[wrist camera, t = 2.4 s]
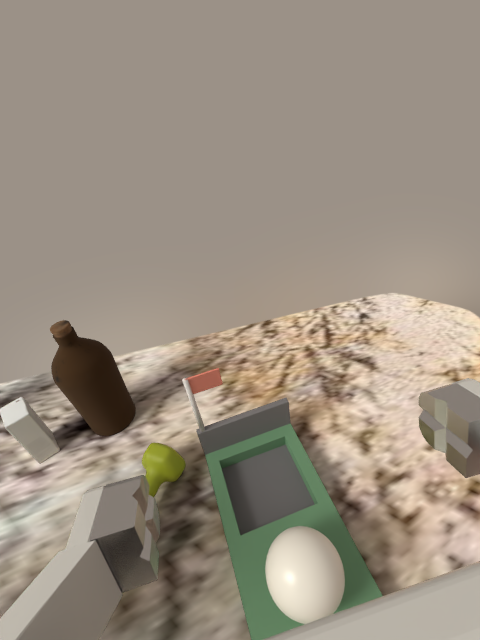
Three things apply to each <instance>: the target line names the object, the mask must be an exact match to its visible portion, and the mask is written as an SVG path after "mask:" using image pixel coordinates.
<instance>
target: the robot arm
mask: <svg viewBox="0 0 480 640" xmlns="http://www.w3.org/2000/svg"><path fill="white" fill-rule="evenodd" d="M419 406H420V407H421V408H422V409H423V411H422V413H421V415H420V417H419V427H420V430H421V432H422V435H423V437H424V438H425V440H426V441H427V442H428V444H430V445H431V446H432V447H433V448H434V449H435V450H438V451H441V452H444V453H445V454H446V460H447V461H448V462H449V463H450V464H451V465H452V466H453V467H454V468H455V469H456V470H458V471H459V472H460V473H461V474H462V475H463V476H464V477H465V478H468V477H471V476H475V475H478V474H480V383H479V382H478V381H476V380H474V379H469V378H467V379H464V380H461V381H458V382H454V383H452V384H449V385H446V386H442V387H439V388H436V389H433V390H429V391H426V392H423V393H421V394H420V396H419ZM159 536H160V520H159V512H158V508H157V504H156V501H155V499H154V497H152V496H150V495H149V483H148V481H147V479H146V476H144V475H141V476H137V477H134V478H130V479H126V480H122V481H119V482H115V483H111V484H108V485H106V486H102V487H98V488H94V489H91V490H87V491H86V492H85V493H84V495H83V497H82V500H81V503H80V506H79V509H78V512H77V515H76V518H75V521H74V524H73V527H72V530H71V533H70V536H69V539H68V542H67V545H66V548H65V550H62V551H59V552H58V553H57V554H56V555H55V556H54V558H53V559H52V560H51V561H50V562H49V563H48V564H47V566H46V567H45V568H44V569H43V570H42V571H41V572H40V574H39V575H38V576H37V577H36V578H35V579H34V580H33V582H32V583H31V584H30V585H29V586H28V587H27V588H26V590H25V591H24V592H23V593H22V594H21V595H20V596H19V598H18V599H17V600H16V601H15V602H14V603H13V604H12V606H11V607H10V608H9V609H8V610H7V611H6V612H5V614H4V615H3V616H2V617H1V618H0V640H99V639H100V637H101V635H102V633H103V632H104V630H105V628H106V626H107V624H108V622H109V620H110V618H111V616H112V614H113V613H114V611H115V609H116V607H117V605H118V603H119V601H120V599H121V597H122V596H123V594H122V593H123V592H126V591H128V590H131V589H134V588H137V587H139V586H142V585H145V584H148V583H150V582H153V581H156V580H158V561H159V552H158V549H157V547H156V544H155V543H156V541H157V540H158V538H159ZM263 640H480V561H479V562H476V563H473V564H470V565H468V566H465V567H462V568H459V569H456V570H454V571H451V572H448V573H445V574H443V575H440V576H437V577H434V578H432V579H429V580H426V581H423V582H421V583H418V584H415V585H412V586H409V587H407V588H404V589H401V590H398V591H396V592H393V593H390V594H387V595H385V596H382V597H379V598H376V599H374V600H371V601H368V602H365V603H363V604H360V605H357V606H354V607H351V608H349V609H346V610H343V611H340V612H338V613H335V614H332V615H329V616H327V617H324V618H321V619H318V620H315V621H313V622H310V623H307V624H304V625H302V626H299V627H296V628H293V629H290V630H288V631H285V632H282V633H279V634H277V635H274V636H271V637H268V638H266V639H263Z"/></svg>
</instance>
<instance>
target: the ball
mask: <svg viewBox="0 0 480 640" xmlns="http://www.w3.org/2000/svg"><path fill="white" fill-rule="evenodd" d="M265 574H266V582H267V586H268V589H269V592H270V594H271V596H272V598H273V600H274V602H275V603H276V605H277V606H278V608H279V609H280V610H281V611H282V612H283V613H284V614H285V615H286V616H288V617H289V618H290V619H292V620H294V621H296V622H299V623H303V624H307V623H310V622H313V621H315V620H318V619H321V618H324V617H327V616H329V615H332V614H333V613H334V612H335V611H336V610H337V608H338V606H339V604H340V602H341V600H342V597H343V593H344V587H345V576H344V568H343V564H342V561H341V558H340V556H339V554H338V552H337V550H336V548H335V547H334V545H333V544H332V543H331V541H330V540H329V539H328V538H327V537H326V536H325V535H323V534H322V533H320V532H319V531H317V530H315V529H313V528H310V527H306V526H296V527H291V528H288V529H286V530H285V531H283V532H282V533H280V534H279V535H278V536H277V537H276V538H275V540H274V541H273V543H272V544H271V546H270V548H269V551H268V554H267V558H266V565H265Z"/></svg>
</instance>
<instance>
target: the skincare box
mask: <svg viewBox="0 0 480 640" xmlns="http://www.w3.org/2000/svg"><path fill="white" fill-rule="evenodd" d="M0 415H1V417H2V420H3V423H4V426H5V428H6V429H7V430H8V431H9V432H10V434H11V435H12V436H13V437H14V438H15V439H16V440H17V441H18V442H19V443H20V444H21V445H22V446H23V447H24V448H25V449H26V450H27V451H28V452H29V453H30V454H31V455H32V457H33V458H34V459H35V460H36V461H37V462H38V463H42V462H43V461H45V460H46V459H48V458H49V457H51V456H52V455H54V454H55V453H57V452H58V451H59V450H60V448H59V446H58V444H57V442H56V440H55V438H54V436H53V434H52V432H51V431H50V429H49V428H48V427H47V426H46V425H45V423H44V422H43V421H42V420H41V419H40V417H39V416H38V415H37V414H36V413H35V411H34V410H33V409H32V408H31V407H30V405H29V404H28V403H27V402H26V400H25V399H24V398H23V397H20V398H18V399H16V400H14V401H13V402H11V403H9V404H7V405H6V406H4V407H2V408H0Z"/></svg>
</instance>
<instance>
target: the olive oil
mask: <svg viewBox="0 0 480 640" xmlns="http://www.w3.org/2000/svg"><path fill="white" fill-rule="evenodd" d="M50 331H51V333H52V334H53V338H54V339H55V340H56V342H57V343H58V345H59V348H58V351H57V353H56V355H55V357H54V359H53V362H52V375H53V379H54V381H55V383H56V385H57V386H58V387H59V388H60V390H61V391H62V392H63V393H64V394H65V396H66V397H67V398H68V399H69V401H70V402H71V403H72V404H73V406H74V407H75V408H76V409H77V411H78V412H79V413H80V414H81V416H82V417H83V418H84V420H85V421H86V422H87V424H88V425H89V426H90V428H91V429H92V430H93V431H94V432H95V433H96V434H97V435H100V436H110V435H114V434H116V433H118V432H120V431H122V430H123V429H125V428H126V427H127V426H128V425H129V424H130V423H131V421H132V420H133V418H134V416H135V411H136V410H135V405H134V403H133V401H132V399H131V397H130V395H129V392H128V390H127V388H126V386H125V383H124V381H123V379H122V377H121V374H120V372H119V370H118V367H117V365H116V363H115V360H114V358H113V356H112V354H111V352H110V351H109V350H108V349H107V347H106V346H104V345H103V344H102V343H100V342H98V341H96V340H91V339H86V338H80V337H78V336H77V334H76V332H75V330H74V328H73V327H72V326H71V324H70V323H69V321H60V322H57V323H55V324H54V325H52V326H51V328H50Z"/></svg>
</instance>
